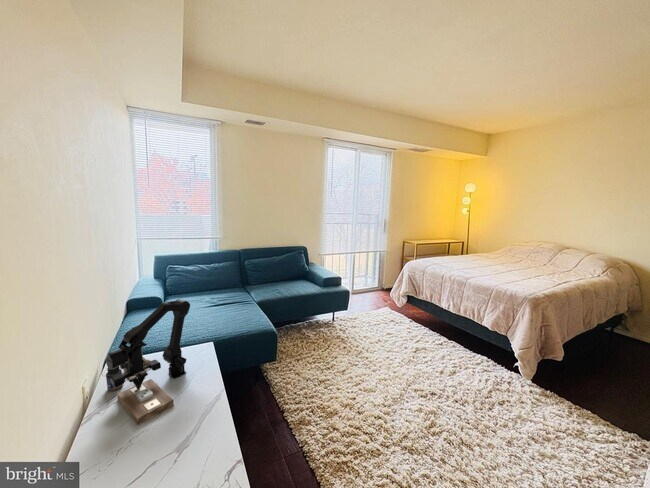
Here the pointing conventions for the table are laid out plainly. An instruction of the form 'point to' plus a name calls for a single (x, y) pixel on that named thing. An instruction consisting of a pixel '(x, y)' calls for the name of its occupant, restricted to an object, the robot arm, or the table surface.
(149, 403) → the one pip button
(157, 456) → the table surface
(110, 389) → the pill bottle
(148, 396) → the three pip button
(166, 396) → the board
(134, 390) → the two pip button
